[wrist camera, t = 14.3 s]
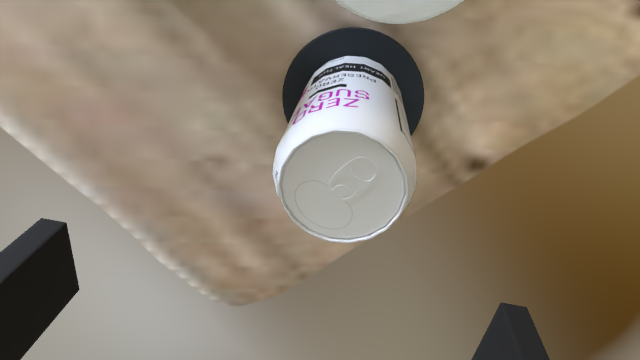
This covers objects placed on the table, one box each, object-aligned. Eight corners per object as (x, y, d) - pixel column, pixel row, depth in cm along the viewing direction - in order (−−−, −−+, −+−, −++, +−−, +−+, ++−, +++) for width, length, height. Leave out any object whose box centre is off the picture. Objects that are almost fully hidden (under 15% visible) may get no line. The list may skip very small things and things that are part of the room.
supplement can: (353, 164, 38) (345, 274, 25) (285, 103, 36) (237, 189, 23) (421, 102, 35) (452, 192, 22) (350, 31, 33) (337, 84, 20)
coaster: (258, 66, 35) (257, 67, 35) (392, -1, 32) (392, 0, 31) (320, 181, 40) (319, 183, 40) (442, 134, 36) (443, 136, 36)
